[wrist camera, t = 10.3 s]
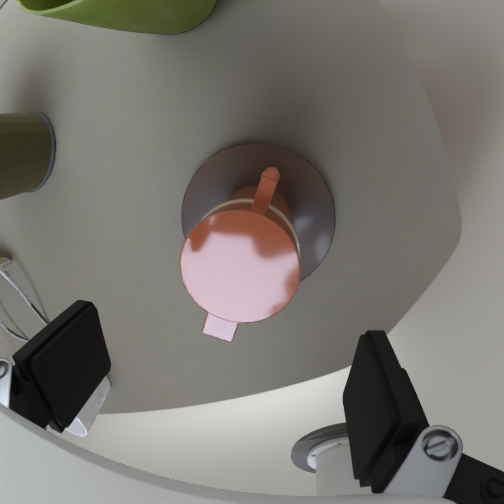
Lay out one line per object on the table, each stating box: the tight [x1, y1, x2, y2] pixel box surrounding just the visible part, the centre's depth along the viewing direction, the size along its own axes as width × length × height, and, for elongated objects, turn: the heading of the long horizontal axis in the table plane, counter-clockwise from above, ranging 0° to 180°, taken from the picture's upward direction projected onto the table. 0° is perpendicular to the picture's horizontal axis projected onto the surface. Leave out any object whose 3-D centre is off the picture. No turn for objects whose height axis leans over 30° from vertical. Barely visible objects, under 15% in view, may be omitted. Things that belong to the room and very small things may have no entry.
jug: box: [180, 165, 301, 342], centre depth 21 cm, size 10×7×11 cm, turn 162°
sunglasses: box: [0, 258, 49, 342], centre depth 34 cm, size 14×15×5 cm
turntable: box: [182, 143, 335, 282], centre depth 27 cm, size 14×14×2 cm
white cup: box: [65, 376, 111, 436], centre depth 34 cm, size 8×8×10 cm
